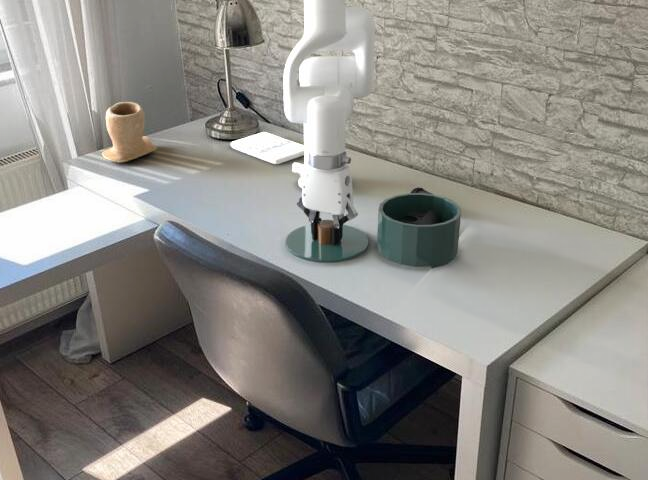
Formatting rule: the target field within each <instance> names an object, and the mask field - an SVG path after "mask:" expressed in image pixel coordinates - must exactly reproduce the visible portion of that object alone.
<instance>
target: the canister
mask: <svg viewBox="0 0 648 480" xmlns="http://www.w3.org/2000/svg"><path fill="white" fill-rule="evenodd" d="M432 194H433V193H432ZM432 194H424V193H411V192H408V193H401V194H396V195H393V196H390V197H388V198H384V200H383V201H382V202H380V204H379V205H378V213H377V236H376V237H377V238H376V239H377V241H376V242H377V243H376V249H377V251H378V253H379V254H380V255H381V256H382V257H383V258H384V259H386V260H388V261H390V262H392V263H394V264H395V263H396V264H398V265H401V266H407V267H413V268H414V267H415V268H416V267H417V268H418V267H430V269H434V268H439V267H443V266H446V265H448V264H450V263H452V262H453V261H454V260H455V259H456V257H457V255H458V250H459V240H460V229H461V219H462V208H461V207H460V206H459V205H458V204H457V202H455V201H453V200H452V199H449V198H447V197H444V196H441V195H437V194H434V195H432ZM429 210H433V211H435V212H436V213H437V214H438V215H439V216H440V217H441V220H442V223H439V224H433V225H415V224H407V223H403V222H401V221H408V222H415V221H417V220H416V219H413V218H408V217H406V215H407V214H408V212H409V211H415V212H421V213H427V212H428V211H429Z"/></svg>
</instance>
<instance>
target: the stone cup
mask: <svg viewBox="0 0 648 480" xmlns="http://www.w3.org/2000/svg"><path fill="white" fill-rule="evenodd" d="M145 117H146V116H145V112H144V109H143V107H142V106H141V105H140V104H139V103H137V102H134V101H119V102H117V103H115V104H113V105H112V106H109V107H108V109H106V112H105V126H106V130H107V133H108V135H109V137H110V139H111V142H112V147H109V148H107V149H105V150H103V152H102V153H101V156H102V157H103V158H104V159H106V161H110V162H113V163H126V162H130V161H133V160H135V159H138V158H140V157H143V156H145V155H148V154H150V153H152V152H155V151H156V150H157V147H156V145H155V144H154V143H153V142H152V141H151V139H150V137H148V136H145V135H144V128H145V124H146V118H145Z"/></svg>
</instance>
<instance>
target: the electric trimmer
mask: <svg viewBox="0 0 648 480" xmlns="http://www.w3.org/2000/svg"><path fill="white" fill-rule="evenodd" d="M410 193H424V194H432V195H435V194H434V193H431V192H430V191H427V190H426V189H424V188H423V187H415V188H413V189H412V190H411V191H410Z"/></svg>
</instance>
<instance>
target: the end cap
mask: <svg viewBox="0 0 648 480" xmlns="http://www.w3.org/2000/svg"><path fill="white" fill-rule="evenodd" d="M406 217H408V218H413V219H416V220H417V221H415V222H408V221H401V222H403V223H407V224H415V225H433V224H439V223H442V220H441V217H440V216H439V215H438V214H437V213H436V212H435V211H433V210H429V211H428V212H427V213H421V212H415V211H409V212H408V214H407V215H406Z"/></svg>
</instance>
